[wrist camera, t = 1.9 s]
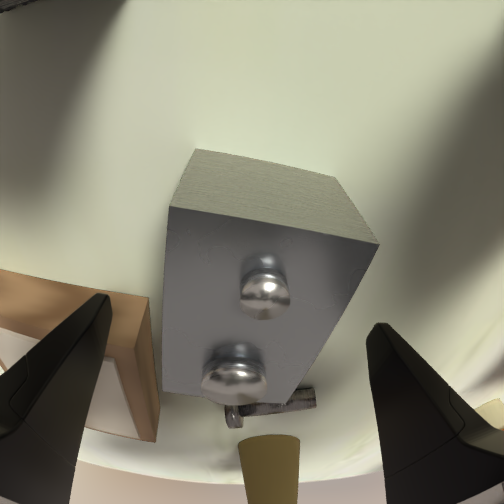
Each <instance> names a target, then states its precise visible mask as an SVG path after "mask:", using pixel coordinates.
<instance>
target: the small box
mask: <svg viewBox="0 0 504 504" xmlns="http://www.w3.org/2000/svg"><path fill="white" fill-rule="evenodd" d="M35 1H38V0H0V14H1V13H3V12H4V11H9V10H11V9H14V8H16V7H17V6H19V5H27V4H28V3H30V2H35Z"/></svg>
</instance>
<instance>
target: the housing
mask: <svg viewBox="0 0 504 504" xmlns="http://www.w3.org/2000/svg"><path fill="white" fill-rule="evenodd" d="M379 245H380V244H379V243H378V241H377V239H376V238H375V236H374V235H373V233H372V232H371V230H370V228H369V227H368V225H367V224H366V222H365V221H364V219H363V218H362V216H361V215H360V213H359V211H358V210H357V208H356V207H355V205H354V204H353V203H352V201H351V200H350V198H349V197H348V195H347V194H346V192H345V191H344V189H343V188H342V187H341V185H340V184H339V182H338V181H337V179H336V178H335V177H332V176H328V175H324V174H320V173H316V172H312V171H307V170H303V169H299V168H295V167H290V166H286V165H281V164H277V163H272V162H267V161H262V160H258V159H253V158H247V157H242V156H237V155H231V154H226V153H220V152H214V151H209V150H202V149H195V151H194V153H193V155H192V157H191V159H190V161H189V163H188V166H187V168H186V170H185V172H184V174H183V176H182V178H181V181H180V183H179V185H178V187H177V190H176V192H175V194H174V196H173V199H172V201H171V203H170V205H169V214H168V226H167V238H166V251H165V267H164V286H163V314H162V391H165V392H171V393H177V394H184V395H191V396H198V397H206V398H207V399H209V400H211V401H213V402H216V403H219V404H224V405H246V404H251V403H254V402H264V403H286V402H287V401H288V399H289V398H290V397H291V395H292V394H293V392H294V391H295V389H296V388H297V386H298V385H299V383H300V382H301V380H302V379H303V377H304V376H305V374H306V373H307V371H308V370H309V368H310V367H311V365H312V364H313V362H314V360H315V359H316V357H317V356H318V354H319V352H320V351H321V349H322V348H323V346H324V344H325V343H326V341H327V340H328V338H329V336H330V335H331V333H332V331H333V330H334V328H335V326H336V324H337V323H338V321H339V319H340V318H341V316H342V314H343V312H344V311H345V309H346V307H347V305H348V304H349V302H350V300H351V298H352V296H353V295H354V293H355V291H356V289H357V287H358V286H359V284H360V282H361V280H362V278H363V276H364V274H365V272H366V270H367V269H368V267H369V265H370V263H371V261H372V259H373V257H374V255H375V253H376V251H377V249H378V247H379Z"/></svg>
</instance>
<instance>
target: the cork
mask: <svg viewBox="0 0 504 504" xmlns="http://www.w3.org/2000/svg"><path fill="white" fill-rule="evenodd" d="M238 449H239V455H240V461H241V467H242V473H243V478H244V484H245V489H246V495H247V500H248V504H297V497H298V478H299V454H300V440H299V439H298V438H296V437H293V436H288V435H264V436H257V437H252V438H248V439H245V440H243V441H241V442H240V443H239V444H238Z"/></svg>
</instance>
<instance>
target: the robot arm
mask: <svg viewBox="0 0 504 504" xmlns="http://www.w3.org/2000/svg"><path fill="white" fill-rule="evenodd" d="M112 317H113V311H112V306H111V300H110V296H109V295H108V294H105V293H100V292H98V293H96V294H94V295H93V296H92V297H91V298H89V299H88V300H87V301H86V302H85V303H83V304H82V305H81V306H80V307H79V308H77V309H76V310H75V311H74V312H73V313H71V314H70V315H69V316H68V317H67V318H65V319H64V320H63V321H62V322H61V323H60V324H58V325H57V326H56V327H55V328H54V329H53V330H52V331H50V332H49V333H48V334H47V335H46V336H45V337H44V338H42V339H41V340H40V341H39V342H38V343H37V344H36V345H35V346H34V347H32V348H31V349H30V350H29V351H28V352H27V353H26V355H23V356H22V357H21V358H20V359H19V360H18V361H17V362H16V363H15V364H14V365H12V366H11V367H10V368H9V369H8V370H7V371H5V372H4V373H3V374H2V375H0V504H69V500H70V495H71V488H72V483H73V478H74V472H75V466H76V462H77V457H78V452H79V448H80V444H81V439H82V435H83V431H84V427H85V423H86V419H87V415H88V411H89V408H90V404H91V400H92V397H93V393H94V390H95V386H96V383H97V379H98V376H99V373H100V370H101V366H102V363H103V360H104V355H105V350H106V345H107V340H108V336H109V331H110V326H111V322H112ZM366 349H367V359H368V370H369V379H370V386H371V391H372V397H373V402H374V408H375V414H376V420H377V426H378V433H379V440H380V447H381V454H382V462H383V470H384V478H385V489H386V501H387V504H504V430H500V429H497V428H495V427H493V426H492V425H490V424H489V423H488V422H487V421H486V420H485V419H484V418H483V417H481V416H480V415H479V414H478V413H477V412H476V411H475V410H474V409H473V408H472V407H471V406H469V405H468V404H467V403H466V402H465V401H464V400H463V399H462V398H461V397H460V396H459V395H458V394H457V393H456V392H455V391H454V390H453V389H452V388H451V387H450V386H449V385H448V384H447V382H446V381H445V380H444V379H443V378H442V377H441V376H440V375H439V374H438V373H437V372H436V371H435V370H434V369H433V368H432V367H431V366H430V365H429V364H428V363H427V362H426V361H425V360H424V359H423V358H422V357H421V356H420V355H419V354H418V353H417V352H416V351H415V350H414V349H413V348H412V347H411V346H410V345H409V344H408V343H407V342H406V341H405V340H404V339H403V338H402V337H401V336H400V335H399V334H398V333H397V332H396V331H395V330H394V329H393V328H392V327H391V326H390V325H389V324H388V323H376V324H375V325H374V327H373V329H372V330H371V332H370V333H369V335H368V336H367V339H366Z"/></svg>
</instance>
